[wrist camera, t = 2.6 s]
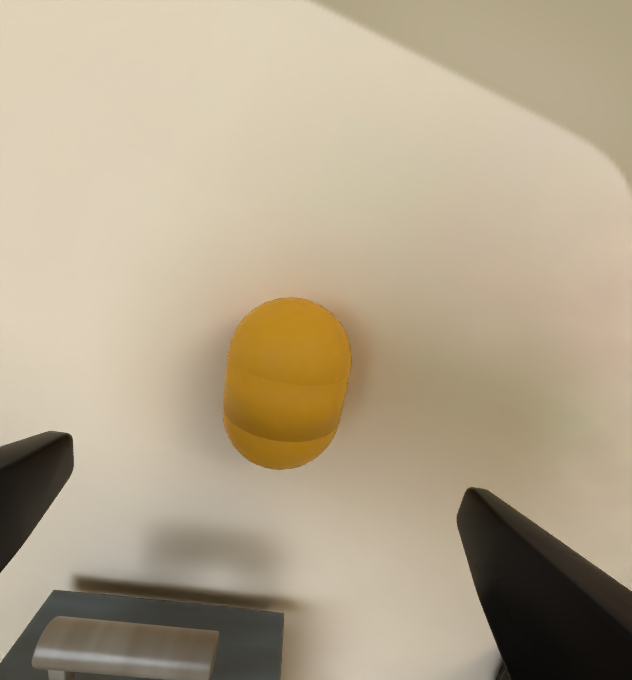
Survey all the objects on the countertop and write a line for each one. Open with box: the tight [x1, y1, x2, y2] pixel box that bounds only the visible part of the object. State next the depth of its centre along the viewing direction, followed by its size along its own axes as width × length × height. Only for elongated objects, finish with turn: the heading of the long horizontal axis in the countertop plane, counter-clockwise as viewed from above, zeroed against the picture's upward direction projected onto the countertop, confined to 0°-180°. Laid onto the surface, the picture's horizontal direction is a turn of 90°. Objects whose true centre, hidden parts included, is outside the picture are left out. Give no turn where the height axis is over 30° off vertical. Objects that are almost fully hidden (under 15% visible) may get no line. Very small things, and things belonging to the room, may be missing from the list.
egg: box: [223, 298, 352, 470], centre depth 12 cm, size 6×4×4 cm
